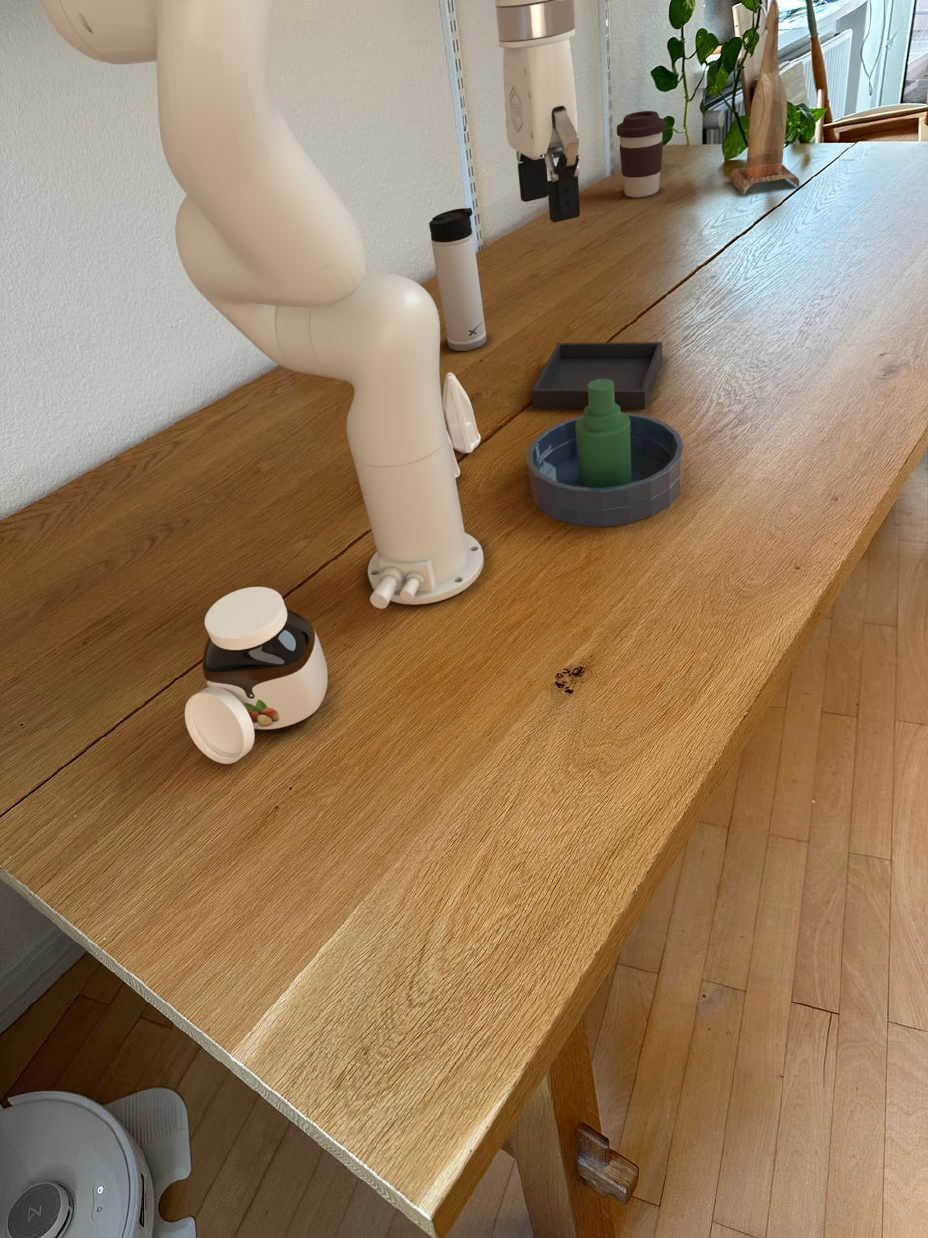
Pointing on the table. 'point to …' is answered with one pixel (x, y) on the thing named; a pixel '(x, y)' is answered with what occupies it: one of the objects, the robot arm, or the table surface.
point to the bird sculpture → (766, 118)
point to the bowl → (648, 494)
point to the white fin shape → (459, 419)
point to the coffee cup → (641, 152)
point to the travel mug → (458, 279)
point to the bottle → (603, 439)
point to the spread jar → (254, 674)
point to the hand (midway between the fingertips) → (549, 208)
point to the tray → (598, 373)
